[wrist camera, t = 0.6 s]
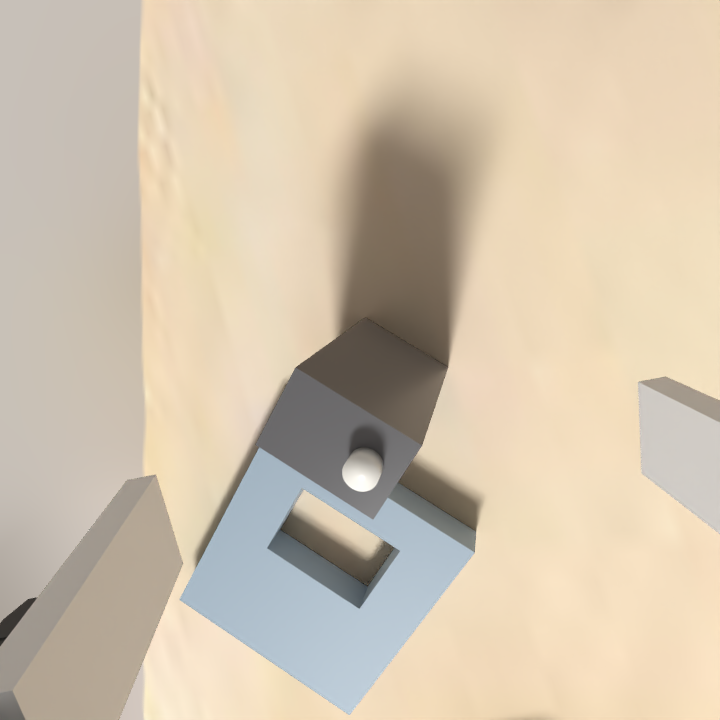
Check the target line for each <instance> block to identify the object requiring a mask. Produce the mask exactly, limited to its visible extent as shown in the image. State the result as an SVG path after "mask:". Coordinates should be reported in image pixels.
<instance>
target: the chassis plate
mask: <svg viewBox="0 0 720 720" xmlns="http://www.w3.org/2000/svg"><path fill="white" fill-rule="evenodd" d="M303 489H304V490H306V491H307V492H309V493H310V494H312V495H314V496H315V497H317V498H318V499H320V500H321V501H323V502H325V503H326V504H328V505H329V506H331V507H332V508H334V509H335V510H337V511H339V512H340V513H342V514H343V515H345V516H346V517H348V518H350V519H351V520H353V521H354V522H356V523H357V524H359V525H360V526H362V527H364V528H365V529H367V530H368V531H370V532H371V533H373V534H375V535H376V536H378V537H379V538H381V539H382V540H384V541H385V542H387V543H389V544H390V545H392V546H393V547H395V548H394V549H393V551H392V552H391V553H390V555H389V556H388V558H387V559H386V561H385V562H384V564H383V565H382V566H381V568H380V569H379V571H378V572H377V574H376V575H375V576H374V578H373V579H372V581H371V582H370V584H369V585H368V587H367V586H366V585H364V584H363V583H361V582H360V581H358V580H357V579H355V578H354V577H352V576H350V575H349V574H347V573H346V572H344V571H343V570H341V569H340V568H338V567H337V566H335V565H334V564H332V563H330V562H329V561H327V560H326V559H324V558H323V557H321V556H320V555H318V554H317V553H315V552H314V551H312V550H311V549H309V548H307V547H306V546H304V545H303V544H301V543H300V542H298V541H297V540H295V539H294V538H292V537H291V536H289V535H288V534H286V533H284V532H283V531H281V530H280V529H281V527H282V526H283V524H284V522H285V520H286V519H287V517H288V515H289V513H290V512H291V510H292V508H293V507H294V505H295V503H296V501H297V500H298V498H299V496H300V495H301V493H302V491H303ZM475 540H476V531H474V530H473V529H471V528H470V527H468V526H466V525H465V524H463V523H462V522H460V521H458V520H457V519H455V518H454V517H452V516H450V515H449V514H447V513H446V512H444V511H442V510H441V509H439V508H438V507H436V506H434V505H433V504H431V503H430V502H428V501H426V500H425V499H423V498H422V497H420V496H419V495H417V494H415V493H414V492H412V491H411V490H409V489H407V488H406V487H404V486H403V485H401V484H399V483H397V484H396V486H395V487H394V489H393V490H392V492H391V493H390V495H389V496H388V498H387V500H386V501H385V503H384V504H383V506H382V507H381V509H380V510H379V512H378V513H377V515H376V516H375V518H374V519H371V518H370V517H368V516H366V515H365V514H363V513H362V512H360V511H359V510H357V509H355V508H354V507H352V506H351V505H349V504H348V503H346V502H344V501H343V500H341V499H340V498H338V497H337V496H335V495H333V494H332V493H330V492H329V491H327V490H326V489H324V488H322V487H321V486H319V485H318V484H316V483H315V482H313V481H311V480H310V479H308V478H307V477H305V476H304V475H302V474H300V473H299V472H297V471H296V470H294V469H293V468H291V467H289V466H288V465H286V464H285V463H283V462H282V461H280V460H278V459H277V458H275V457H274V456H272V455H271V454H269V453H267V452H266V451H264V450H263V449H261V448H260V447H259V449H258V451H257V453H256V454H255V456H254V458H253V460H252V462H251V464H250V466H249V468H248V470H247V472H246V474H245V475H244V477H243V479H242V481H241V483H240V485H239V487H238V489H237V491H236V493H235V495H234V496H233V498H232V500H231V502H230V504H229V506H228V508H227V510H226V512H225V514H224V516H223V517H222V519H221V521H220V523H219V525H218V527H217V529H216V531H215V533H214V535H213V537H212V538H211V540H210V542H209V544H208V546H207V548H206V550H205V552H204V554H203V556H202V558H201V559H200V561H199V563H198V565H197V567H196V569H195V571H194V573H193V575H192V577H191V579H190V580H189V582H188V584H187V586H186V588H185V590H184V592H183V594H182V596H181V598H180V600H181V601H182V602H184V603H185V604H187V605H188V606H189V607H191V608H192V609H194V610H195V611H197V612H198V613H200V614H201V615H203V616H204V617H206V618H207V619H209V620H210V621H212V622H213V623H215V624H216V625H217V626H219V627H220V628H222V629H223V630H225V631H226V632H228V633H229V634H231V635H232V636H234V637H235V638H237V639H238V640H240V641H241V642H242V643H244V644H245V645H247V646H248V647H250V648H251V649H253V650H254V651H256V652H257V653H259V654H260V655H262V656H263V657H265V658H266V659H268V660H269V661H270V662H272V663H273V664H275V665H276V666H278V667H279V668H281V669H282V670H284V671H285V672H287V673H288V674H290V675H291V676H293V677H294V678H296V679H297V680H298V681H300V682H301V683H303V684H304V685H306V686H307V687H309V688H310V689H312V690H313V691H315V692H316V693H318V694H319V695H321V696H322V697H323V698H325V699H326V700H328V701H329V702H331V703H332V704H334V705H335V706H337V707H338V708H340V709H341V710H343V711H344V712H346V713H347V714H349V715H350V714H351V712H352V711H353V710H354V709H355V707H356V706H357V705H358V703H359V702H360V701H361V700H362V698H363V697H364V696H365V694H366V693H367V692H368V690H369V689H370V688H371V687H372V685H373V684H374V683H375V681H376V680H377V679H378V677H379V676H380V675H381V674H382V672H383V671H384V670H385V668H386V667H387V666H388V664H389V663H390V662H391V661H392V659H393V658H394V657H395V655H396V654H397V653H398V651H399V650H400V649H401V648H402V646H403V645H404V644H405V642H406V641H407V640H408V638H409V637H410V636H411V635H412V633H413V632H414V631H415V629H416V628H417V627H418V625H419V624H420V623H421V622H422V620H423V619H424V618H425V616H426V615H427V614H428V613H429V611H430V610H431V609H432V607H433V606H434V605H435V603H436V602H437V601H438V600H439V598H440V597H441V596H442V594H443V593H444V592H445V590H446V589H447V588H448V587H449V585H450V584H451V583H452V581H453V580H454V579H455V577H456V576H457V575H458V574H459V572H460V571H461V570H462V568H463V567H464V566H465V564H466V563H467V562H468V561H469V559H470V558H471V557H472V555H473V554H474V553H475Z"/></svg>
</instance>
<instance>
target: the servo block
mask: <svg viewBox="0 0 720 720" xmlns="http://www.w3.org/2000/svg"><path fill="white" fill-rule="evenodd" d="M447 369H448V367H447V366H445V365H444V364H442V363H440V362H439V361H437V360H435V359H434V358H432V357H430V356H429V355H427V354H425V353H424V352H422V351H420V350H419V349H417V348H415V347H414V346H412V345H410V344H409V343H407V342H405V341H404V340H402V339H400V338H399V337H397V336H395V335H394V334H392V333H390V332H389V331H387V330H385V329H384V328H382V327H380V326H379V325H377V324H375V323H374V322H372V321H370V320H369V319H367V318H364V319H363V320H361V321H360V322H358V323H357V324H356V325H354V326H353V327H351V328H350V329H349V330H347V331H346V332H344V333H343V334H342V335H340V336H339V337H337V338H336V339H335V340H333V341H332V342H330V343H329V344H328V345H326V346H325V347H323V348H322V349H321V350H319V351H318V352H316V353H315V354H314V355H312V356H311V357H310V358H308V359H307V360H305V361H304V362H303V363H301V364H300V365H298V366H297V367H296V368H295V370H294V371H293V373H292V375H291V377H290V379H289V381H288V383H287V385H286V387H285V389H284V391H283V393H282V395H281V397H280V398H279V400H278V402H277V404H276V406H275V408H274V410H273V412H272V414H271V416H270V418H269V420H268V422H267V423H266V425H265V427H264V429H263V431H262V433H261V435H260V437H259V439H258V441H257V443H256V446H258V447H260V448H261V449H263V450H264V451H266V452H267V453H269V454H271V455H272V456H274V457H275V458H277V459H278V460H280V461H282V462H283V463H285V464H286V465H288V466H289V467H291V468H293V469H294V470H296V471H297V472H299V473H300V474H302V475H304V476H305V477H307V478H308V479H310V480H311V481H313V482H315V483H316V484H318V485H319V486H321V487H322V488H324V489H326V490H327V491H329V492H330V493H332V494H333V495H335V496H337V497H338V498H340V499H341V500H343V501H344V502H346V503H348V504H349V505H351V506H352V507H354V508H355V509H357V510H359V511H360V512H362V513H363V514H365V515H366V516H368V517H370V518H371V519H374V518H375V516H376V515H377V513H378V512H379V510H380V509H381V507H382V506H383V504H384V503H385V501H386V500H387V498H388V496H389V495H390V493H391V492H392V490H393V489H394V487H395V486H396V484H397V483H398V481H399V480H400V478H401V477H402V475H403V474H404V472H405V471H406V469H407V468H408V466H409V465H410V463H411V462H412V460H413V459H414V457H415V455H416V454H417V452H418V451H419V449H420V448H421V446H422V444H423V441H424V438H425V435H426V432H427V429H428V426H429V423H430V420H431V417H432V414H433V411H434V408H435V405H436V402H437V399H438V396H439V393H440V390H441V387H442V384H443V381H444V378H445V375H446V372H447Z"/></svg>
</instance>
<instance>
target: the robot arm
mask: <svg viewBox="0 0 720 720" xmlns="http://www.w3.org/2000/svg"><path fill="white" fill-rule="evenodd" d="M638 392H639V418H640V444H641V470H642V474H643V475H644V476H646V477H647V478H648V479H650V480H651V481H652V482H653V483H655V484H656V485H657V486H659V487H660V488H661V489H662V490H664V491H665V492H666V493H668V494H669V495H670V496H671V497H673V498H674V499H675V500H677V501H678V502H679V503H680V504H682V505H683V506H684V507H686V508H687V509H688V510H689V511H691V512H692V513H693V514H695V515H696V516H697V517H698V518H700V519H701V520H702V521H704V522H705V523H706V524H707V525H709V526H710V527H711V528H713V529H714V530H715V531H716V532H718V533H719V534H720V400H717V399H715V398H713V397H710V396H708V395H706V394H704V393H701V392H699V391H697V390H695V389H692V388H690V387H688V386H686V385H683V384H681V383H679V382H677V381H674V380H672V379H670V378H668V377H661V378H656V379H651V380H646V381H640V382H638ZM182 565H183V561H182V558H181V555H180V552H179V548H178V545H177V542H176V538H175V535H174V532H173V529H172V525H171V522H170V519H169V516H168V512H167V509H166V506H165V503H164V499H163V496H162V493H161V490H160V486H159V483H158V480H157V476H156V475H151V476H146V477H141V478H136V479H131V480H127V481H126V482H125V484H124V485H123V486H122V488H121V489H120V490H119V491H118V493H117V494H116V496H115V497H114V498H113V499H112V501H111V502H110V503H109V505H108V506H107V507H106V508H105V510H104V511H103V512H102V514H101V515H100V516H99V518H98V519H97V520H96V522H95V523H94V524H93V526H92V527H91V528H90V529H89V531H88V532H87V533H86V535H85V536H84V537H83V539H82V540H81V541H80V543H79V544H78V545H77V547H76V548H75V549H74V550H73V552H72V553H71V554H70V556H69V557H68V558H67V560H66V561H65V562H64V564H63V565H62V566H61V568H60V569H59V570H58V571H57V573H56V574H55V575H54V577H53V578H52V579H51V581H50V582H49V583H48V585H47V586H46V587H45V588H44V590H43V591H42V593H41V594H40V595H39V596H38V597H37V598H32V599H28V600H27V601H25V602H24V603H23V604H22V605H20V606H19V607H18V608H17V609H16V610H15V611H13V612H12V613H11V614H9V615H8V616H7V617H6V618H5V619H3V621H2V622H1V623H0V720H119V719H120V716H121V713H122V711H123V708H124V706H125V704H126V701H127V699H128V696H129V694H130V692H131V689H132V687H133V684H134V682H135V679H136V677H137V675H138V672H139V670H140V667H141V665H142V662H143V660H144V658H145V655H146V653H147V650H148V648H149V645H150V643H151V640H152V638H153V636H154V633H155V631H156V628H157V626H158V623H159V621H160V619H161V616H162V614H163V611H164V609H165V606H166V604H167V601H168V599H169V597H170V594H171V592H172V589H173V587H174V584H175V582H176V580H177V577H178V575H179V572H180V570H181V567H182Z"/></svg>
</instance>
